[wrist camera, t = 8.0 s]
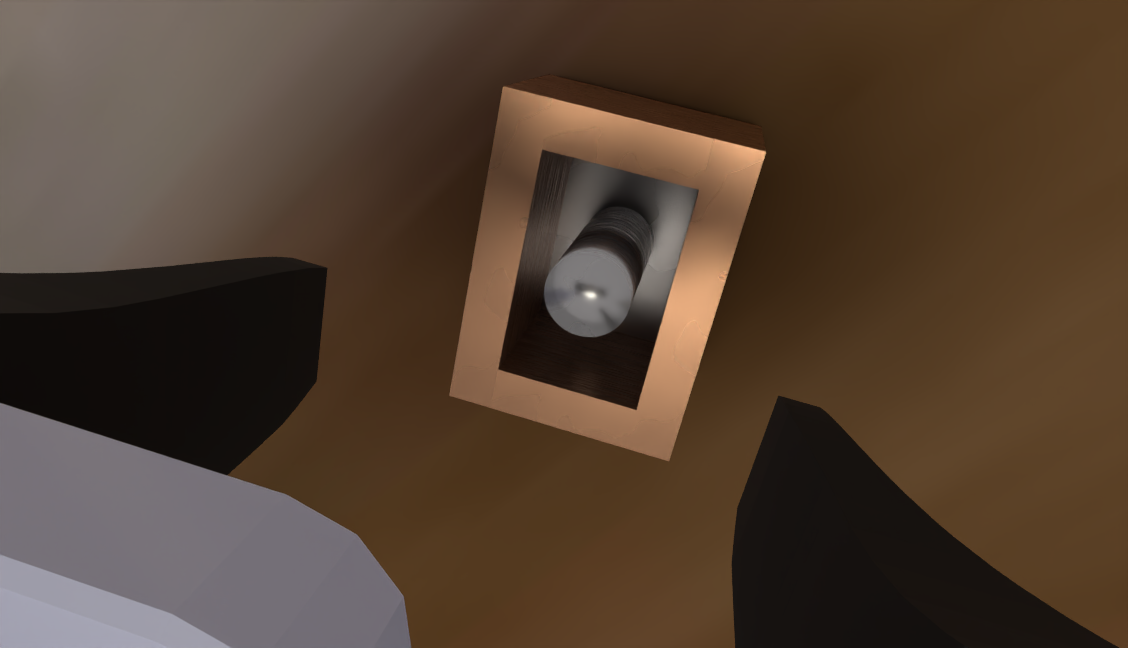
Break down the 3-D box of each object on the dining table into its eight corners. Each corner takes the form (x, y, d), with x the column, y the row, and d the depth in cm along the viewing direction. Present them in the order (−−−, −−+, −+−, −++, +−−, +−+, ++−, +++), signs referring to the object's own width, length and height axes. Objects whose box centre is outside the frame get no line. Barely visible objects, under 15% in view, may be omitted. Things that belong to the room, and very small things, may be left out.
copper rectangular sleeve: (681, 385, 21) (668, 461, 17) (498, 332, 22) (449, 395, 18) (761, 126, 18) (765, 151, 15) (549, 74, 19) (502, 85, 15)
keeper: (688, 342, 21) (673, 434, 17) (515, 294, 22) (453, 368, 17) (743, 165, 19) (743, 210, 15) (551, 116, 20) (492, 146, 15)
